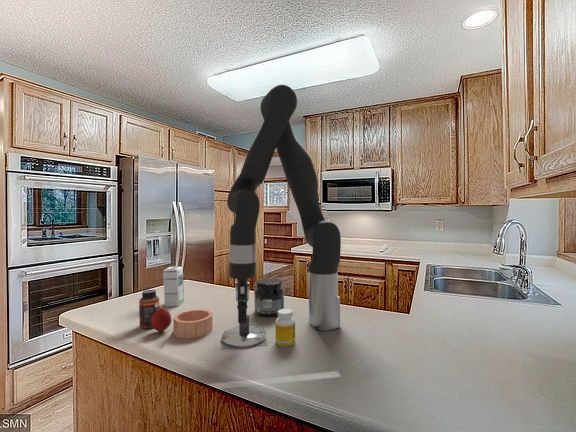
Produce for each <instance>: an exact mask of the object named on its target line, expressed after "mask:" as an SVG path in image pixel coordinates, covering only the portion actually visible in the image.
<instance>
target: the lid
mask: <svg viewBox="0 0 576 432" xmlns="http://www.w3.org/2000/svg"><path fill="white" fill-rule="evenodd" d="M238 325H239V326H235V327H231V328H229V329H227V330H224V331H225V332H224V331H223V333H222V335H221V341H222V342H223V343H224V344H225V345H227V346H230V347H237V348H236V349H243V348H244V349H245V348H252V347H251V346H255V345H258V344H260V343H262V342H263V341H265V339H266V340H267V331H266V329H265V328H264V327H259V326H256V325H250V315H248V314H246V323H238ZM263 328H264V329H263Z"/></svg>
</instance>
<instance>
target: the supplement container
mask: <svg viewBox="0 0 576 432" xmlns="http://www.w3.org/2000/svg"><path fill="white" fill-rule="evenodd" d="M254 284H255V289H254V290H253V295H254V314H255V316H257V317H260V318H276V317H278V311H279V310H280V309H285V289H284V288H283V286H284V285H283V284H284V283H283V280H282V279H280V278H275V277H265V278H260V279H257V280H256V281H255V283H254Z"/></svg>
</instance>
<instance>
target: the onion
mask: <svg viewBox="0 0 576 432" xmlns="http://www.w3.org/2000/svg"><path fill="white" fill-rule="evenodd" d="M171 324H172V315H171V313H170V312H169V310H167V309H165V308H163V307H162V306H161V305H159V307H158V310H157V311H156V312H155V313H154V314H153V315H152V317H151V325H152V327H153V328H152V329H154V330H155V331H157V332H159V333H164V332H165V331H166V330H168V328H169V327H170V325H171Z"/></svg>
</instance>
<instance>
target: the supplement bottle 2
mask: <svg viewBox="0 0 576 432" xmlns="http://www.w3.org/2000/svg"><path fill="white" fill-rule="evenodd" d="M293 315H294V314H293V310H292V309H290V308H284V309H280V310H279V311H278V316H277V318H276V320H275V321H274V322H275V345H277V346H278V347H283V348H284V347H286V348H287V347H292V346H294V345H295V344H296V320H295V318H294V317H293Z"/></svg>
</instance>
